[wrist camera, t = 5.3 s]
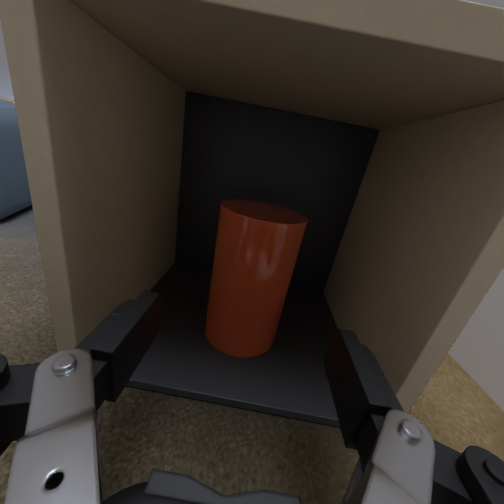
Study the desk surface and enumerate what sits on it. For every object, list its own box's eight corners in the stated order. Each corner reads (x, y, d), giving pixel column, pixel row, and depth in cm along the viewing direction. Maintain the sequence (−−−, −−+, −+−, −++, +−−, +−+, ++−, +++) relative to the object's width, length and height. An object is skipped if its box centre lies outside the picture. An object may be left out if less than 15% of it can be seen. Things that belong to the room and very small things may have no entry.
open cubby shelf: (329, 293, 29) (392, 119, 22) (392, 438, 14) (656, 37, 7) (167, 262, 29) (177, 76, 22) (60, 373, 14) (-22, -100, 7)
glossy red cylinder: (271, 312, 22) (298, 208, 18) (278, 362, 17) (319, 230, 13) (209, 303, 22) (224, 194, 18) (197, 352, 16) (214, 212, 13)
